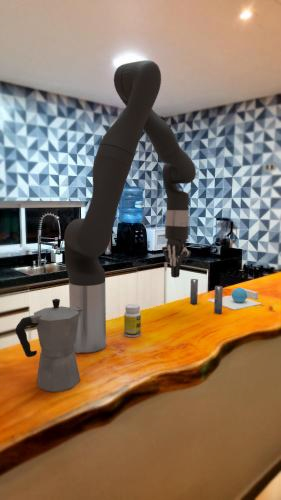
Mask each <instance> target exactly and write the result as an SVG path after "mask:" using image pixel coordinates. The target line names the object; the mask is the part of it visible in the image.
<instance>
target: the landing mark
mask: <svg viewBox="0 0 281 500" xmlns="http://www.w3.org/2000/svg"><path fill="white" fill-rule="evenodd" d="M214 300H215V298H210V299H206V301H208V302H210V303H213V304H214ZM258 305H259V306H261V305H263V303H261V302H257V301H255V300H253V299H250V298H246V300H245V301H244V302H241V303H238V302H235V301H234V300H233V298H232V294H231V295H226V296H223V298H222V307H224V308H228V309H230V310H232V311H233V310H234V311H236V310H241V309H246V308H251V307H255V306H258Z"/></svg>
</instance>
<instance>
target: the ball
mask: <svg viewBox="0 0 281 500" xmlns="http://www.w3.org/2000/svg"><path fill="white" fill-rule="evenodd" d="M242 288H243V287H237V288H234V289H233V291H232V292H231V295H232V298H233V300H234V301H235V302H238V303H241V302H244V301H245V300H246V299H248V297H247V293H246V291H245V290H244V289H245V288H244V289H242Z"/></svg>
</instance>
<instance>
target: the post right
mask: <svg viewBox="0 0 281 500" xmlns="http://www.w3.org/2000/svg"><path fill="white" fill-rule="evenodd" d="M223 289H224V287H223V286H221V285H215V286H214V299H215V300H214V303H213V305H214V307H213V310H214V311H213V313H214V314H215V315H222V314H223V306H222V298H223V297H224V294H223V293H224V292H223V291H224V290H223Z"/></svg>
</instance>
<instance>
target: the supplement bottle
mask: <svg viewBox="0 0 281 500" xmlns="http://www.w3.org/2000/svg"><path fill="white" fill-rule="evenodd" d="M140 307H141V306H140V305H139V304H136V303H130V304H126V305H125V308H124V309H125V312H124V316H123V319H124V320H123V322H124V324H123V325H124V327H123V328H124V329H123V332H124V337H125V336H126V337H128V338H137V337H140V336H141V334H142V333H141V331H142V330H141V329H142V326H141V325H142V321H141V320H142V319H141V318H142V313H141V312H140V310H141V308H140Z"/></svg>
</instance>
